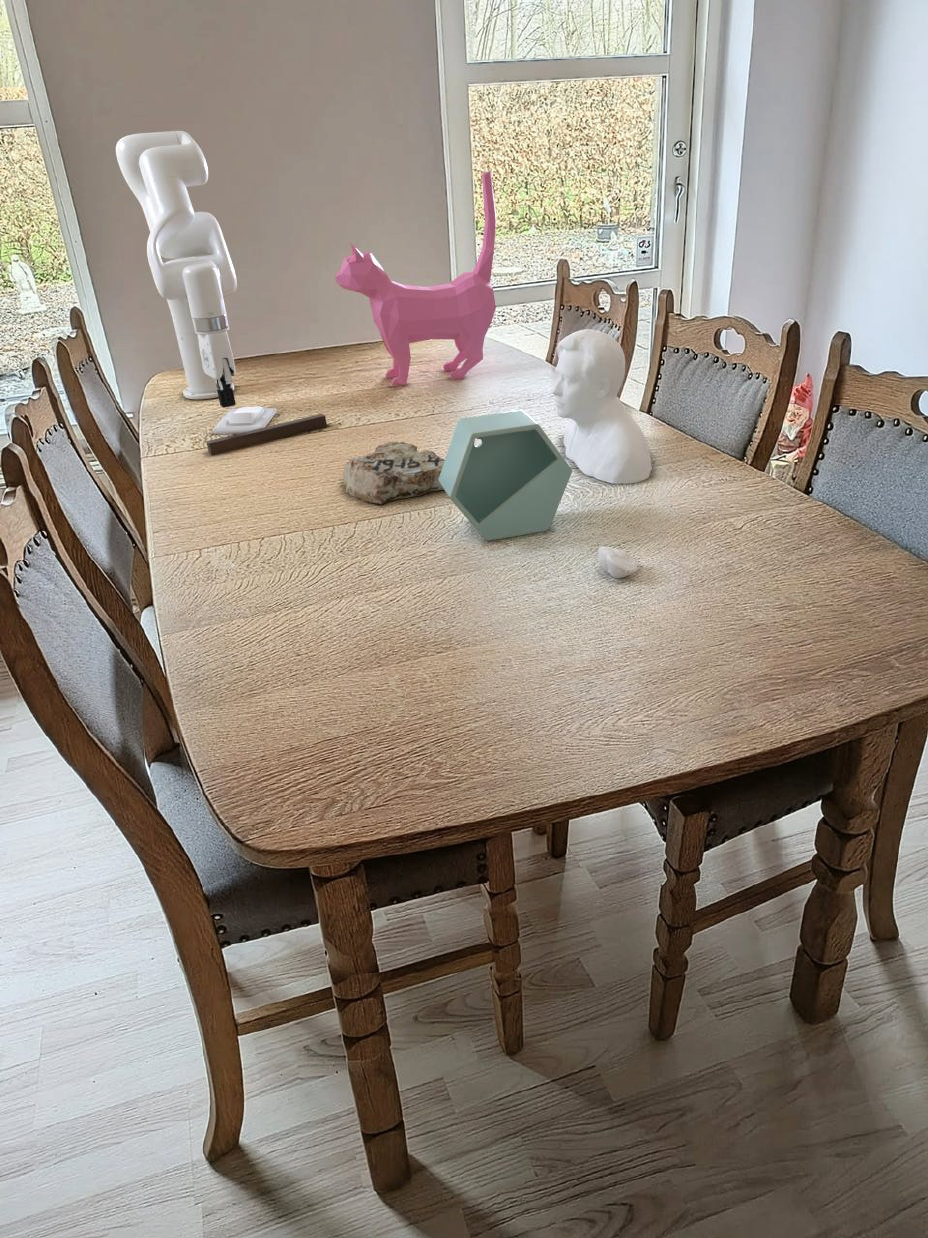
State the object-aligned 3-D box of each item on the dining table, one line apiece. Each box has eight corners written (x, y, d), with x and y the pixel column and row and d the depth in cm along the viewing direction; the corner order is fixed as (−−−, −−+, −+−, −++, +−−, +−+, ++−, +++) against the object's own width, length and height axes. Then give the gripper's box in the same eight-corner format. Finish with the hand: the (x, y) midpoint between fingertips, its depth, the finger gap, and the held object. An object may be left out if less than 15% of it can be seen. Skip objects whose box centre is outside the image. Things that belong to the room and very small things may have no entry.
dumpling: (588, 570, 124) (591, 543, 122) (621, 569, 125) (624, 543, 124) (610, 583, 117) (613, 554, 116) (644, 582, 119) (648, 554, 118)
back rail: (208, 452, 178) (206, 441, 176) (323, 424, 189) (321, 413, 188) (211, 455, 176) (209, 443, 175) (327, 426, 188) (325, 415, 186)
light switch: (209, 419, 186) (228, 398, 197) (213, 437, 189) (232, 415, 199) (257, 417, 185) (274, 396, 196) (261, 435, 187) (277, 414, 198)
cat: (346, 381, 219) (320, 183, 196) (495, 362, 226) (487, 169, 203) (352, 394, 208) (325, 186, 185) (509, 374, 215) (502, 171, 192)
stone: (359, 484, 143) (319, 438, 162) (363, 515, 146) (323, 467, 165) (465, 462, 149) (414, 421, 168) (466, 493, 152) (416, 449, 171)
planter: (506, 564, 136) (427, 472, 125) (492, 544, 143) (416, 454, 132) (591, 495, 134) (518, 395, 123) (573, 478, 140) (502, 381, 129)
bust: (520, 445, 170) (516, 321, 158) (605, 427, 175) (607, 306, 163) (591, 492, 147) (593, 352, 135) (686, 470, 153) (695, 334, 141)
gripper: (184, 322, 195) (202, 402, 204) (205, 331, 184) (223, 416, 193) (216, 317, 198) (233, 396, 207) (238, 325, 187) (254, 408, 196)
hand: (228, 405), depth 200 cm, fingers closed
